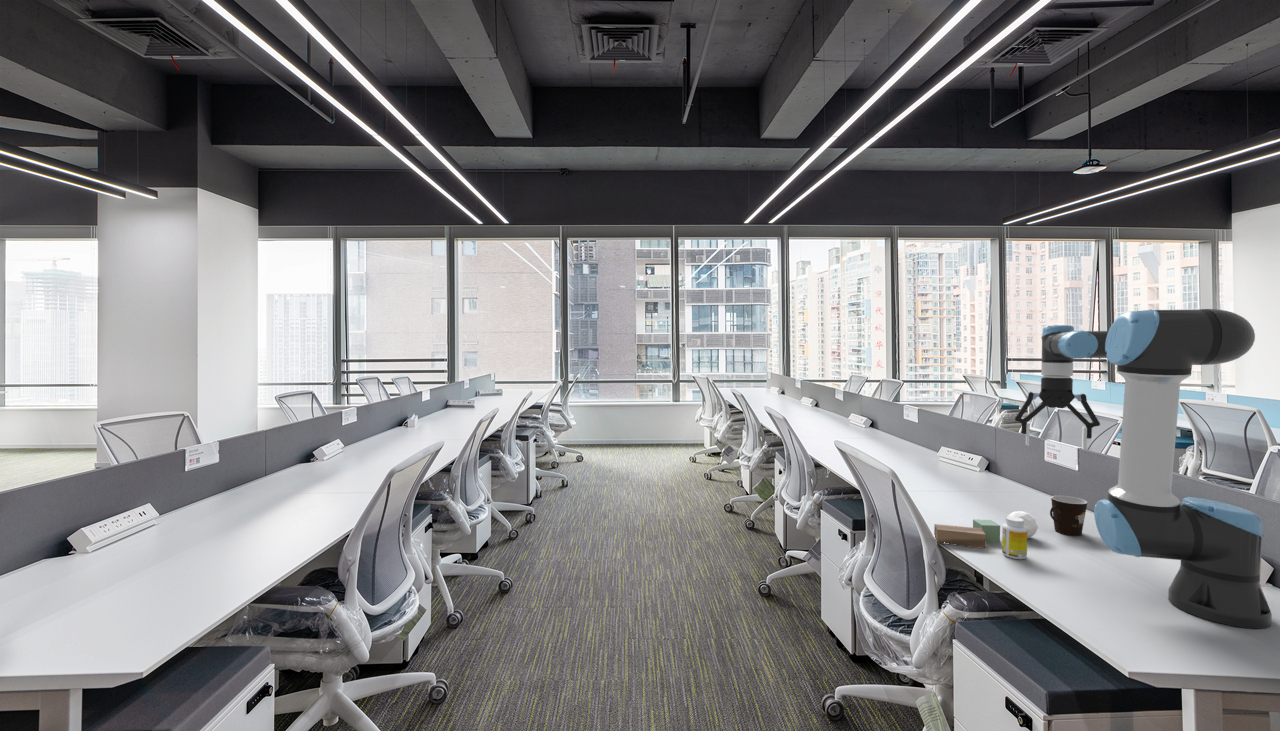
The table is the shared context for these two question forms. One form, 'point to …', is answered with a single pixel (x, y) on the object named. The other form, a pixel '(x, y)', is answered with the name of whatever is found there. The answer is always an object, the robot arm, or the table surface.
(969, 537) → the walnut block
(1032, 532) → the geometric ball
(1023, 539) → the supplement bottle
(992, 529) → the green cube
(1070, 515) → the coffee mug
